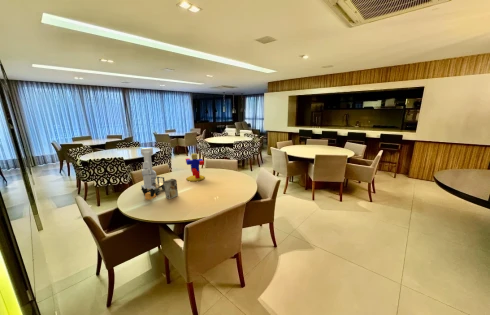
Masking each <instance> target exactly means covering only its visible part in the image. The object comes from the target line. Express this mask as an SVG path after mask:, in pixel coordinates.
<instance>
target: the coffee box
mask: <svg viewBox="0 0 490 315" xmlns="http://www.w3.org/2000/svg"><path fill="white" fill-rule="evenodd" d="M177 182H178V181H177V179H174V178H170V179H166V180H164V186H165V190H164V192H165V194H164V195H165V198H167V199H169V200H172V199H173V198H176V197H178V196H179V192H178V183H177Z"/></svg>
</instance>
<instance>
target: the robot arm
mask: <svg viewBox="0 0 490 315" xmlns="http://www.w3.org/2000/svg"><path fill="white" fill-rule="evenodd" d="M140 154H141V155H142V157H143V161H144V162H142V169H141V176H142V179H143V184H142V185H140V191H142V193H143V196H145V193H147V188H148V189H151V190H149V192H150V193H151V197H153V196H154V192H155V190H156V188H155V187H154V186H152V185H153V183H157V182H156V180H157V177H158V176H157V171H155V170H154V169H153V163H152V156H153V155H154V150H153V147H146V148H145V147H144V148H143V147H142V148H141V149H140Z"/></svg>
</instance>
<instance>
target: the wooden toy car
mask: <svg viewBox="0 0 490 315" xmlns="http://www.w3.org/2000/svg"><path fill="white" fill-rule="evenodd" d="M160 179H162V182H160ZM156 180H157V182H156V183H153V185H152V186H154V187H155V188H156V190H155V192H154V194H156V196H158V195H160V193H161V192H160V191H161V190H162V191H165V186H164V181H165V177H163V176H157V178H156ZM160 189H161V190H160ZM149 190H151V189H148V188H147V192H150V191H149Z"/></svg>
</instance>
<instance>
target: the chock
mask: <svg viewBox="0 0 490 315" xmlns="http://www.w3.org/2000/svg"><path fill="white" fill-rule="evenodd" d="M156 196H157V195H156V194H154V196H153V197H151V193H150V191H149V192H147V193H145V195H144V197H145V200H148V201H151V200H152V199H154V198H156Z"/></svg>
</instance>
